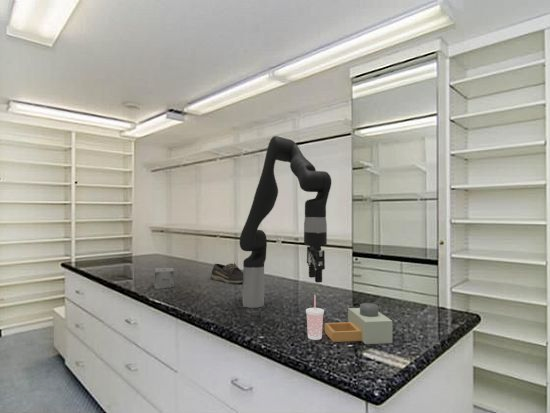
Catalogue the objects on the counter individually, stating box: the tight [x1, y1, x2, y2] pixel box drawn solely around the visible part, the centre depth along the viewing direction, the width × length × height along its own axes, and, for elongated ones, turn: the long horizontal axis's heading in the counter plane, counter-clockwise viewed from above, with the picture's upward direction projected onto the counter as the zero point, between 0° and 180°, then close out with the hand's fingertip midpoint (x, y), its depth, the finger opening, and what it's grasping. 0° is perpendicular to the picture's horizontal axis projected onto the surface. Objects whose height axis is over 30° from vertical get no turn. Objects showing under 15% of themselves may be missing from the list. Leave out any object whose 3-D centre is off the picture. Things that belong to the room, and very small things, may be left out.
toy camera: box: [324, 302, 393, 345], centre depth 121 cm, size 19×16×10 cm
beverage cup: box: [305, 294, 325, 341], centre depth 119 cm, size 6×6×14 cm
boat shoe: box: [210, 262, 243, 285], centre depth 212 cm, size 11×29×11 cm, turn 58°
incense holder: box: [154, 266, 175, 290], centre depth 193 cm, size 10×8×10 cm
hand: (315, 279), depth 119 cm, fingers open, 8 cm apart
